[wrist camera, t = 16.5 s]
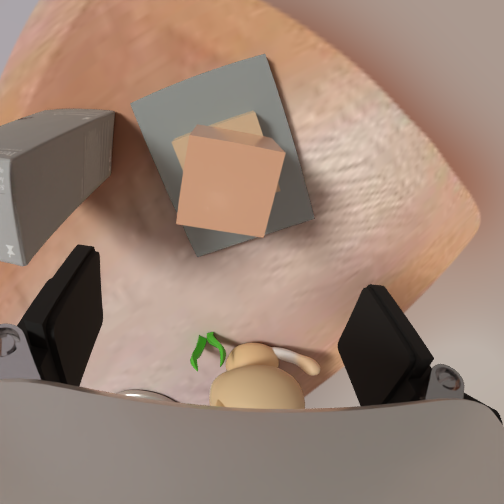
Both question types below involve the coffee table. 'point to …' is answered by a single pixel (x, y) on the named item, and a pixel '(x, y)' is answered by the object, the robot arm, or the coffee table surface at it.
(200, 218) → the peach cardboard cube
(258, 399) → the kitten
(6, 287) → the coffee table surface
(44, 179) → the skincare box
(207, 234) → the post board
